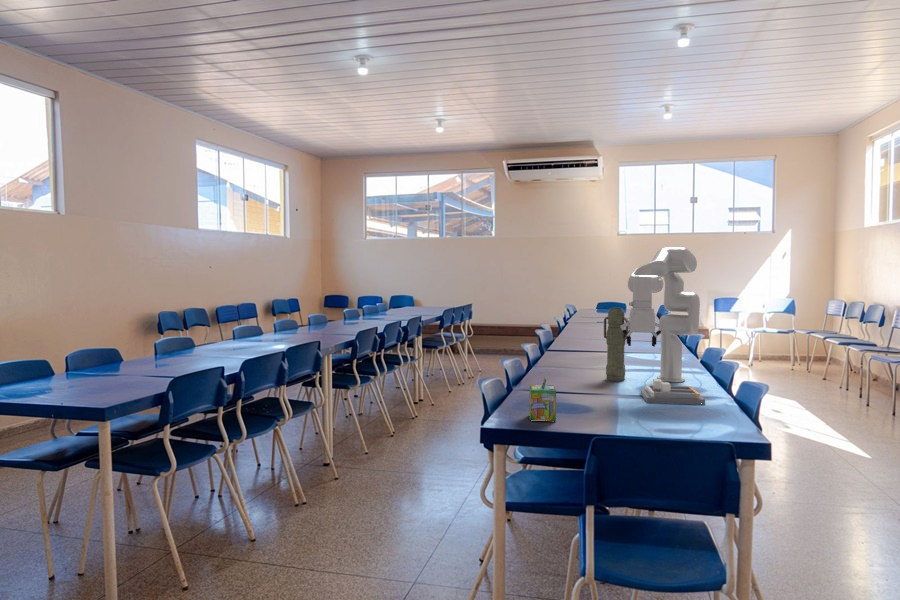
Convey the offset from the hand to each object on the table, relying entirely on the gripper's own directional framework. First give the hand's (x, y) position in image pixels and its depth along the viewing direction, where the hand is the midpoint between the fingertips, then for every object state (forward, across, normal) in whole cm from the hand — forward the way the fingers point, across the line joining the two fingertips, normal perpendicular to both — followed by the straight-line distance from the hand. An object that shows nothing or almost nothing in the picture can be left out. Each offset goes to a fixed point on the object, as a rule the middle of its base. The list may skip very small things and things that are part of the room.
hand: (641, 345), depth 235 cm
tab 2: (+19, +9, -6) cm, 22 cm away
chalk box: (+23, -40, -42) cm, 62 cm away
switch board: (+21, +12, -3) cm, 25 cm away
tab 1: (+19, +7, 0) cm, 20 cm away
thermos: (+21, -6, +35) cm, 42 cm away
